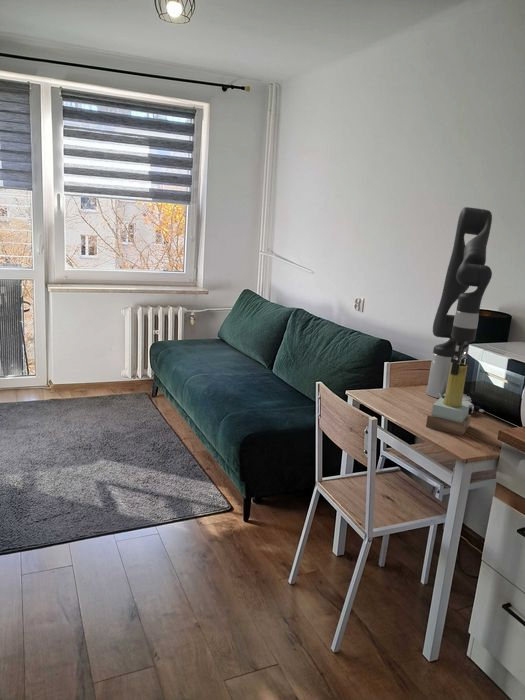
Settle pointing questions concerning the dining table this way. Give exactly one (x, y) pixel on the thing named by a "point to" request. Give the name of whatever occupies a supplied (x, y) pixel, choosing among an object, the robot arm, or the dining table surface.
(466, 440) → the dining table surface
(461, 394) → the vase
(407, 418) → the dining table surface
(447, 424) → the bottom brick
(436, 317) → the robot arm
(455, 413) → the top brick
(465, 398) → the robot toy
